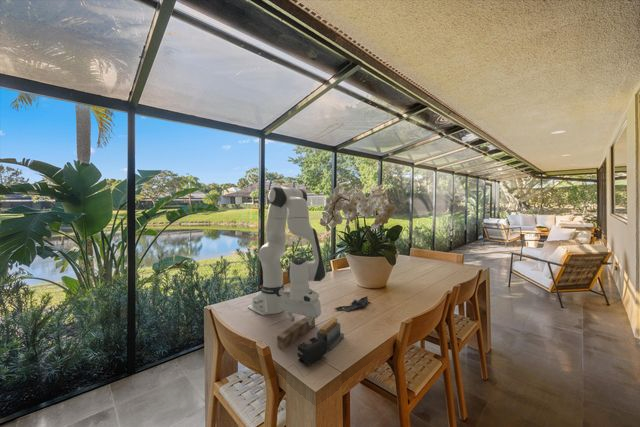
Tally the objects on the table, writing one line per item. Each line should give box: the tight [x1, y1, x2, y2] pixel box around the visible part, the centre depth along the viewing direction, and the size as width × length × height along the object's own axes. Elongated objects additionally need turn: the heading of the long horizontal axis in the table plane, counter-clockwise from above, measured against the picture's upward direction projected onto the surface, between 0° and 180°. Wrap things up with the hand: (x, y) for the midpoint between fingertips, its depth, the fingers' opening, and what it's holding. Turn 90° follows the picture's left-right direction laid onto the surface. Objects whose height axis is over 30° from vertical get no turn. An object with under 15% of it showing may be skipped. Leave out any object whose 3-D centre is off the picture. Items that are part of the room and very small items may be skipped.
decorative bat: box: [334, 295, 370, 312], centre depth 152 cm, size 30×4×10 cm
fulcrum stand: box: [316, 317, 345, 351], centre depth 114 cm, size 8×13×8 cm, turn 149°
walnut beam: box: [276, 316, 316, 350], centre depth 120 cm, size 24×4×5 cm, turn 148°
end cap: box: [297, 337, 328, 366], centre depth 101 cm, size 10×7×7 cm
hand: (300, 322), depth 120 cm, fingers open, 8 cm apart
